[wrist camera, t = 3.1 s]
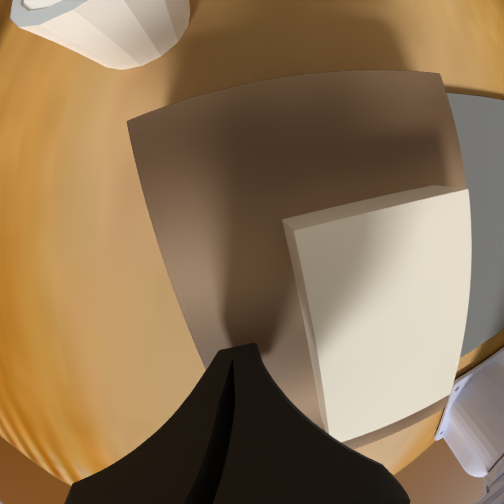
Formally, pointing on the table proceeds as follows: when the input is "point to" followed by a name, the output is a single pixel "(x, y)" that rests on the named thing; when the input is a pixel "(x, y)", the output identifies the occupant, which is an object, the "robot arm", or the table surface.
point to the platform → (281, 197)
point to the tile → (383, 303)
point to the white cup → (107, 27)
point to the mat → (483, 211)
